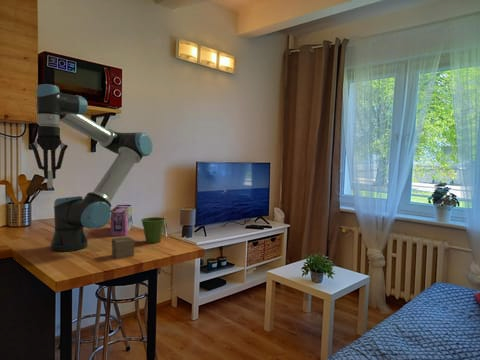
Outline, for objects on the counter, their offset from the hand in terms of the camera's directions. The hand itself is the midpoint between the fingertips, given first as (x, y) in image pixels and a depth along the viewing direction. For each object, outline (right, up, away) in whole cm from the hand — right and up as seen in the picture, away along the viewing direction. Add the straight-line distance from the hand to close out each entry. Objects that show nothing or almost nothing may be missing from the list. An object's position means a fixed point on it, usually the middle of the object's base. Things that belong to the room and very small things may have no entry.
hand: (50, 187), depth 134 cm
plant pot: (+31, -28, +37) cm, 56 cm away
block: (+24, -22, +12) cm, 35 cm away
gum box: (+7, -26, +60) cm, 65 cm away
